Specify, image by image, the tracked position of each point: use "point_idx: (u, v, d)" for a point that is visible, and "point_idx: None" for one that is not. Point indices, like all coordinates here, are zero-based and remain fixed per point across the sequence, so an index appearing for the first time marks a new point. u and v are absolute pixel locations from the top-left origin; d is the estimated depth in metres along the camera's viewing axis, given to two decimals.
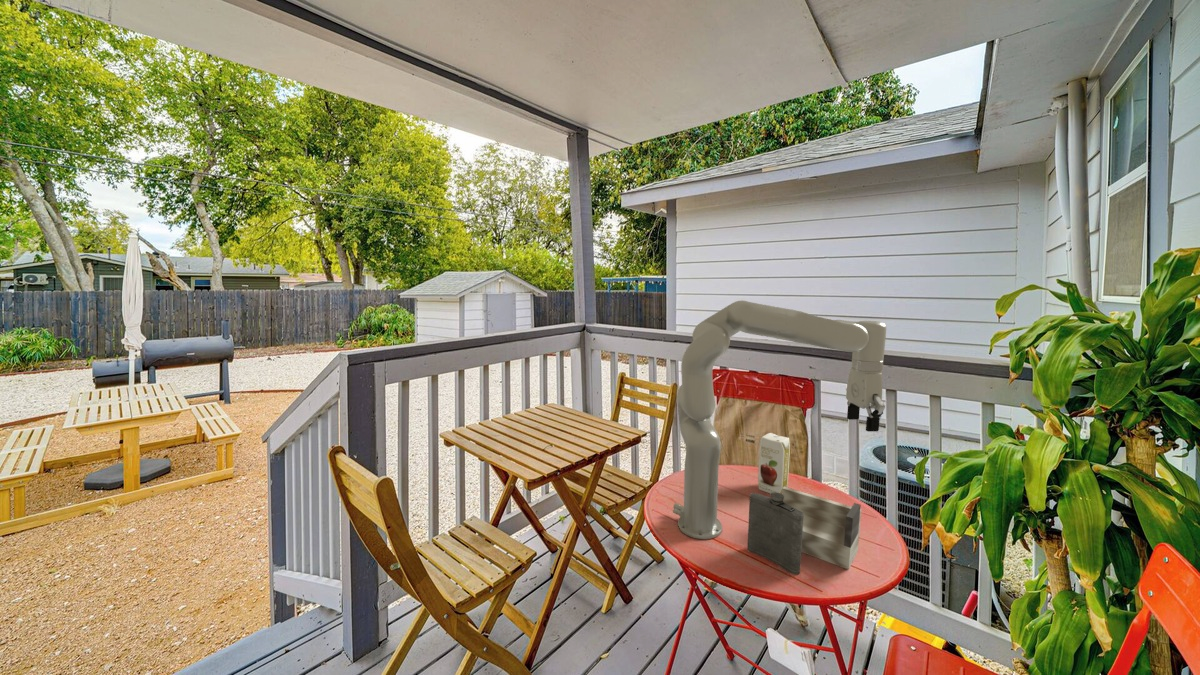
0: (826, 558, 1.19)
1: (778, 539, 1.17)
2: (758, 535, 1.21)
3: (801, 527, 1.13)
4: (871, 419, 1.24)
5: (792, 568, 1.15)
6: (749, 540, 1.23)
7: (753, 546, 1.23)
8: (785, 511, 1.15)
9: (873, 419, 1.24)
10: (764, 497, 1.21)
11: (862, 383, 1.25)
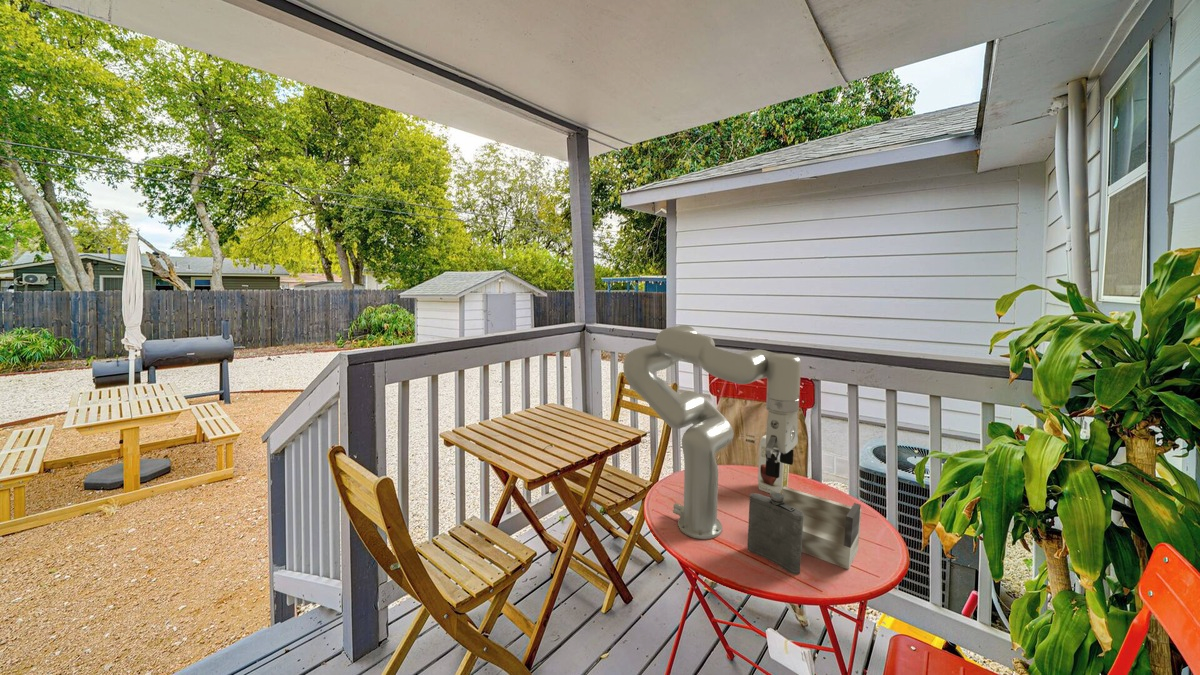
0: (826, 558, 1.19)
1: (778, 539, 1.17)
2: (758, 535, 1.21)
3: (801, 527, 1.13)
4: None
5: (792, 568, 1.15)
6: (749, 540, 1.23)
7: (753, 546, 1.23)
8: (785, 511, 1.15)
9: None
10: (764, 497, 1.21)
11: (796, 419, 1.15)
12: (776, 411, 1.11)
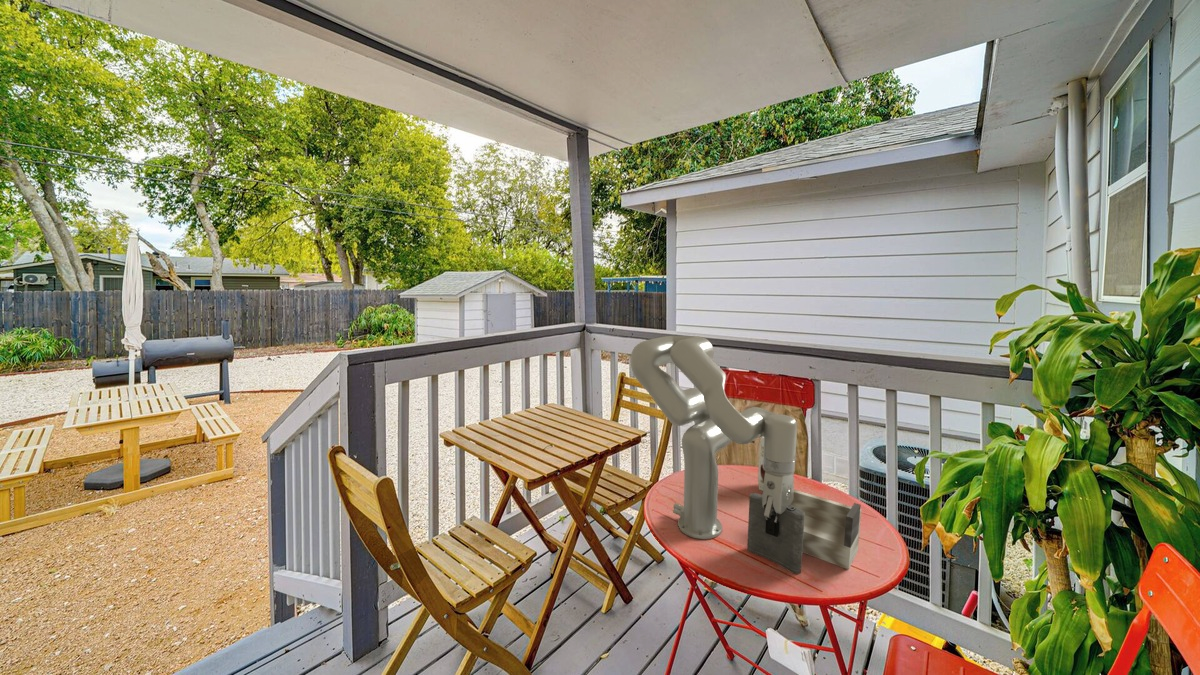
0: (826, 558, 1.19)
1: (779, 539, 1.17)
2: (758, 535, 1.21)
3: (802, 526, 1.13)
4: None
5: (793, 567, 1.15)
6: (749, 540, 1.23)
7: (753, 546, 1.23)
8: (786, 511, 1.15)
9: None
10: None
11: (792, 478, 1.18)
12: (772, 472, 1.14)
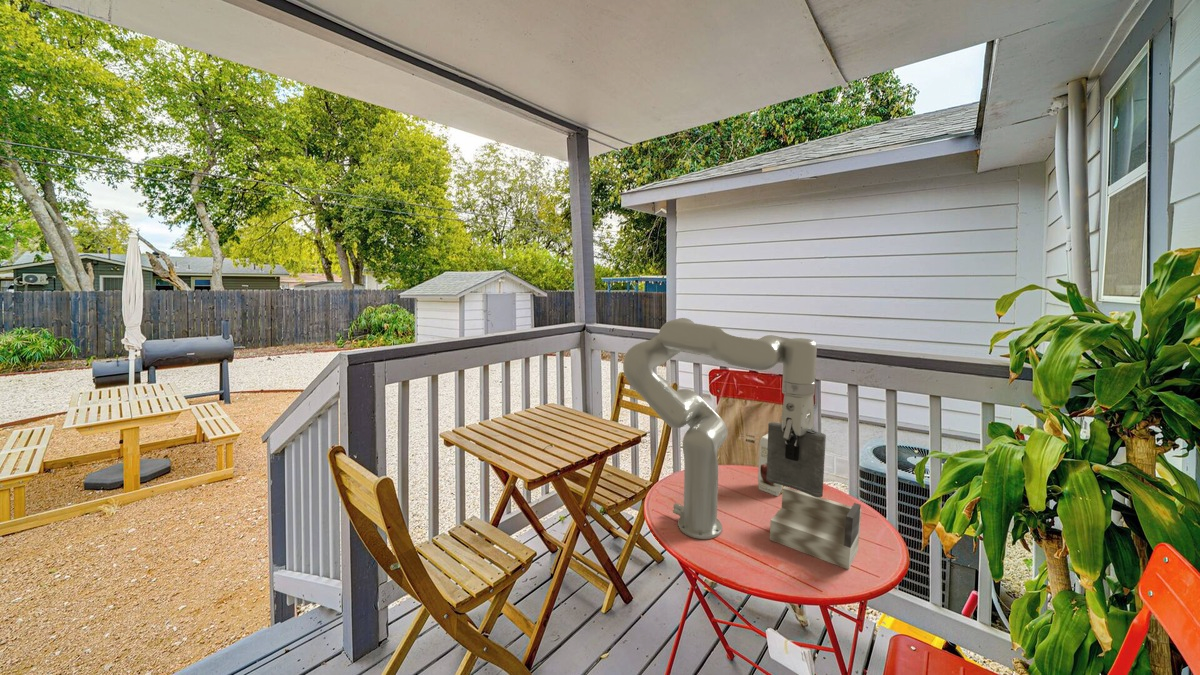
0: (826, 558, 1.19)
1: (799, 464, 1.17)
2: (778, 464, 1.21)
3: (824, 448, 1.12)
4: None
5: (815, 491, 1.14)
6: (769, 470, 1.22)
7: (773, 475, 1.22)
8: (807, 434, 1.14)
9: None
10: None
11: (812, 403, 1.17)
12: (792, 394, 1.13)
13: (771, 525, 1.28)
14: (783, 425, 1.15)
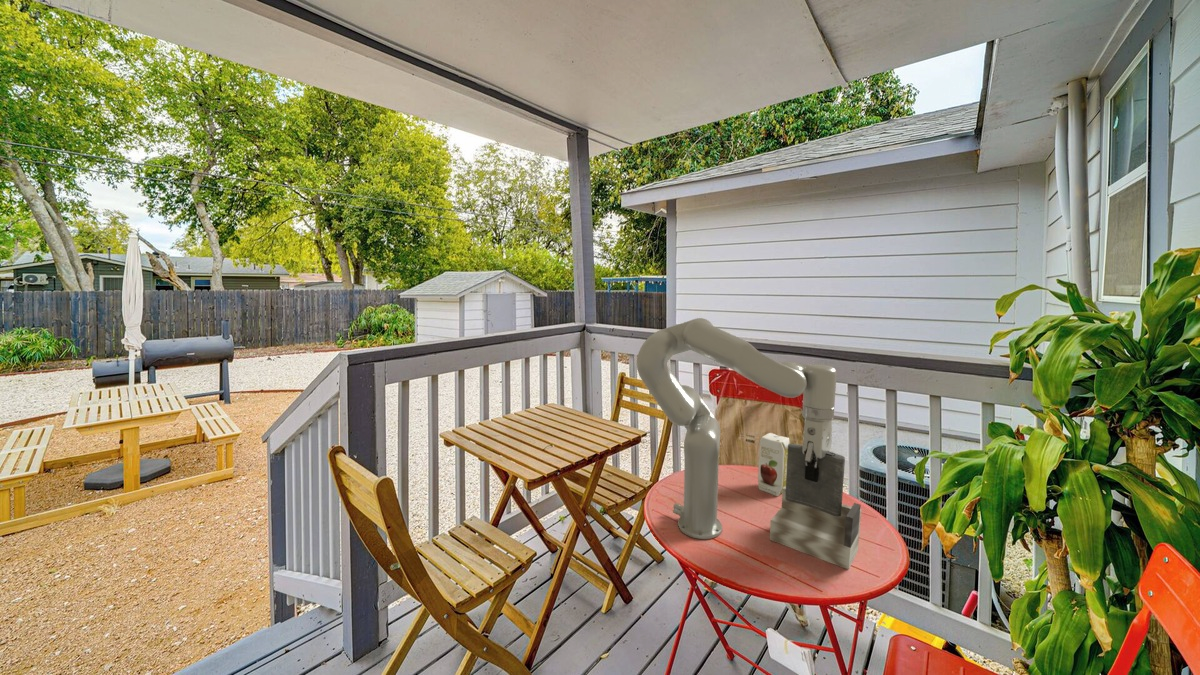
0: (826, 558, 1.19)
1: (819, 485, 1.22)
2: (797, 484, 1.26)
3: (843, 470, 1.18)
4: None
5: (834, 510, 1.20)
6: (788, 489, 1.27)
7: (792, 495, 1.27)
8: (827, 456, 1.20)
9: None
10: None
11: (831, 426, 1.22)
12: (813, 418, 1.18)
13: (771, 525, 1.28)
14: (804, 448, 1.20)
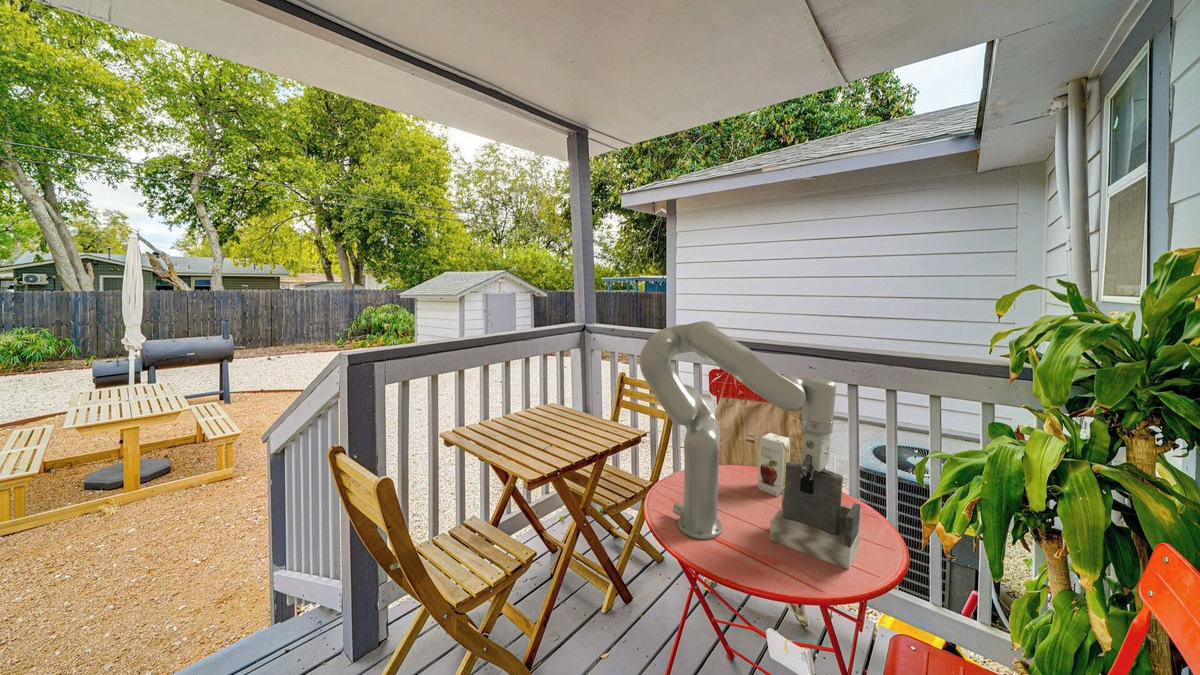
0: (826, 558, 1.19)
1: (816, 503, 1.23)
2: (795, 502, 1.27)
3: (841, 489, 1.19)
4: None
5: (832, 529, 1.21)
6: (786, 507, 1.28)
7: (790, 513, 1.28)
8: (825, 475, 1.21)
9: None
10: (800, 464, 1.26)
11: (829, 439, 1.23)
12: (811, 432, 1.19)
13: (771, 525, 1.28)
14: (802, 461, 1.20)
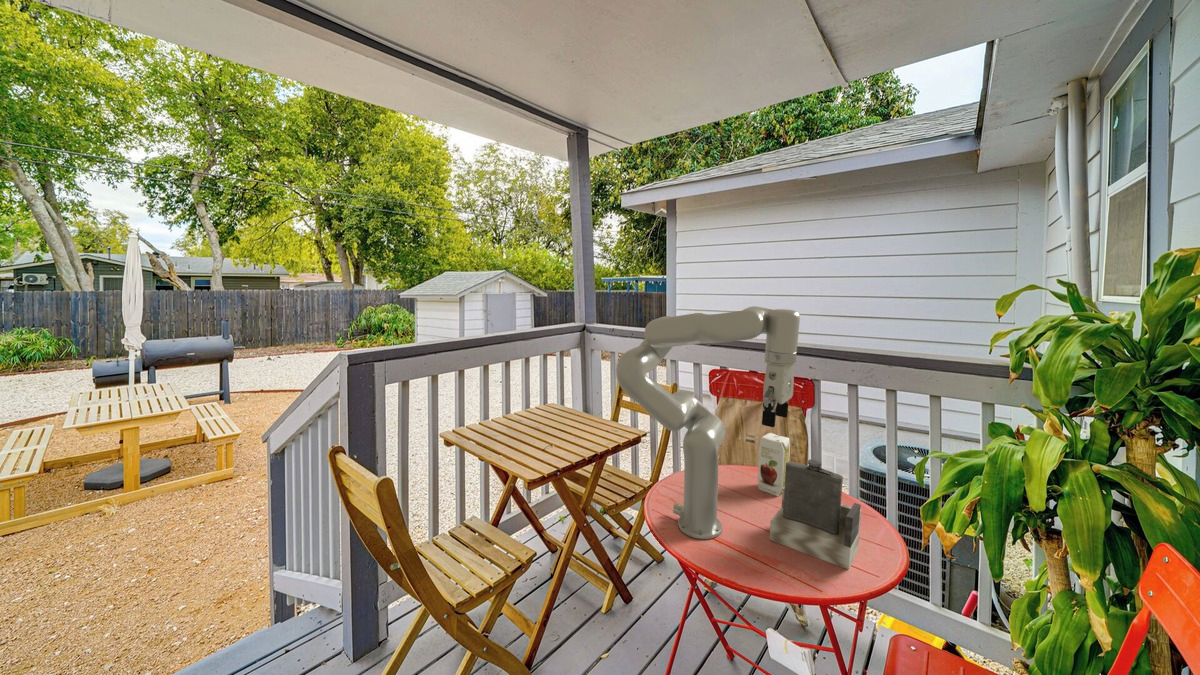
0: (826, 558, 1.19)
1: (816, 503, 1.23)
2: (795, 502, 1.27)
3: (841, 489, 1.19)
4: None
5: (832, 529, 1.21)
6: (785, 507, 1.28)
7: (790, 513, 1.28)
8: (825, 475, 1.21)
9: None
10: (800, 465, 1.26)
11: (793, 373, 1.20)
12: (774, 363, 1.16)
13: (771, 525, 1.28)
14: (765, 393, 1.17)
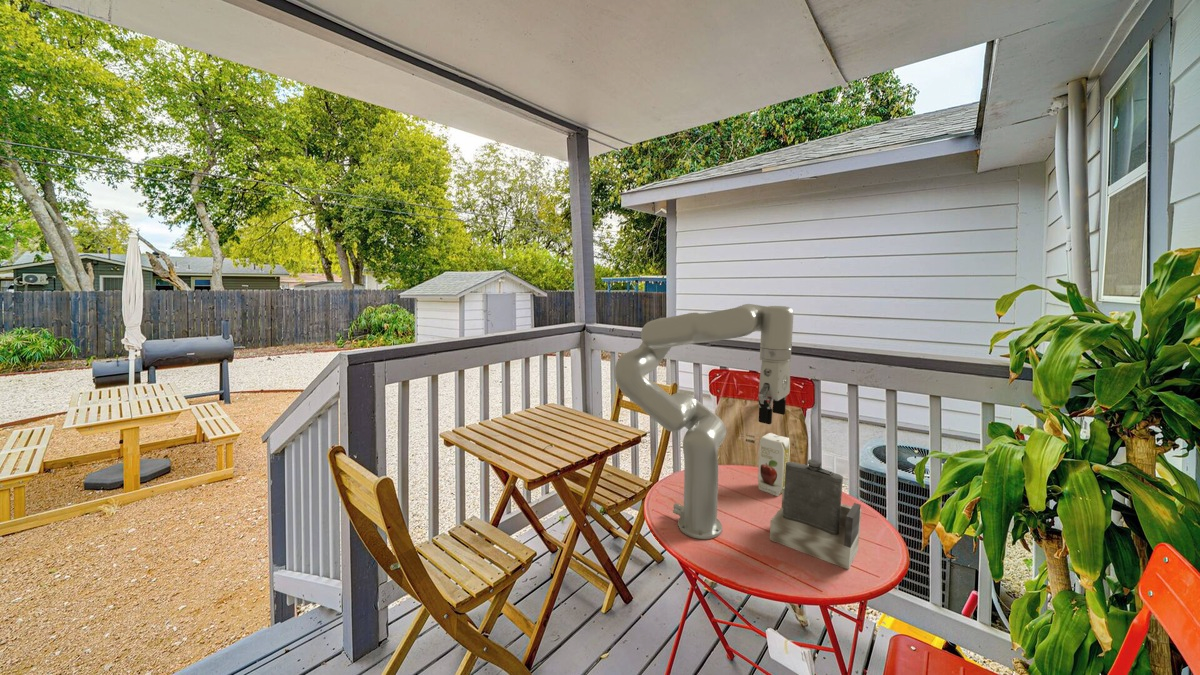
0: (826, 558, 1.19)
1: (816, 503, 1.23)
2: (795, 502, 1.27)
3: (841, 489, 1.19)
4: None
5: (832, 529, 1.21)
6: (785, 507, 1.28)
7: (790, 513, 1.28)
8: (825, 475, 1.21)
9: None
10: (800, 465, 1.26)
11: (789, 369, 1.20)
12: (769, 360, 1.16)
13: (771, 525, 1.28)
14: (760, 390, 1.17)
